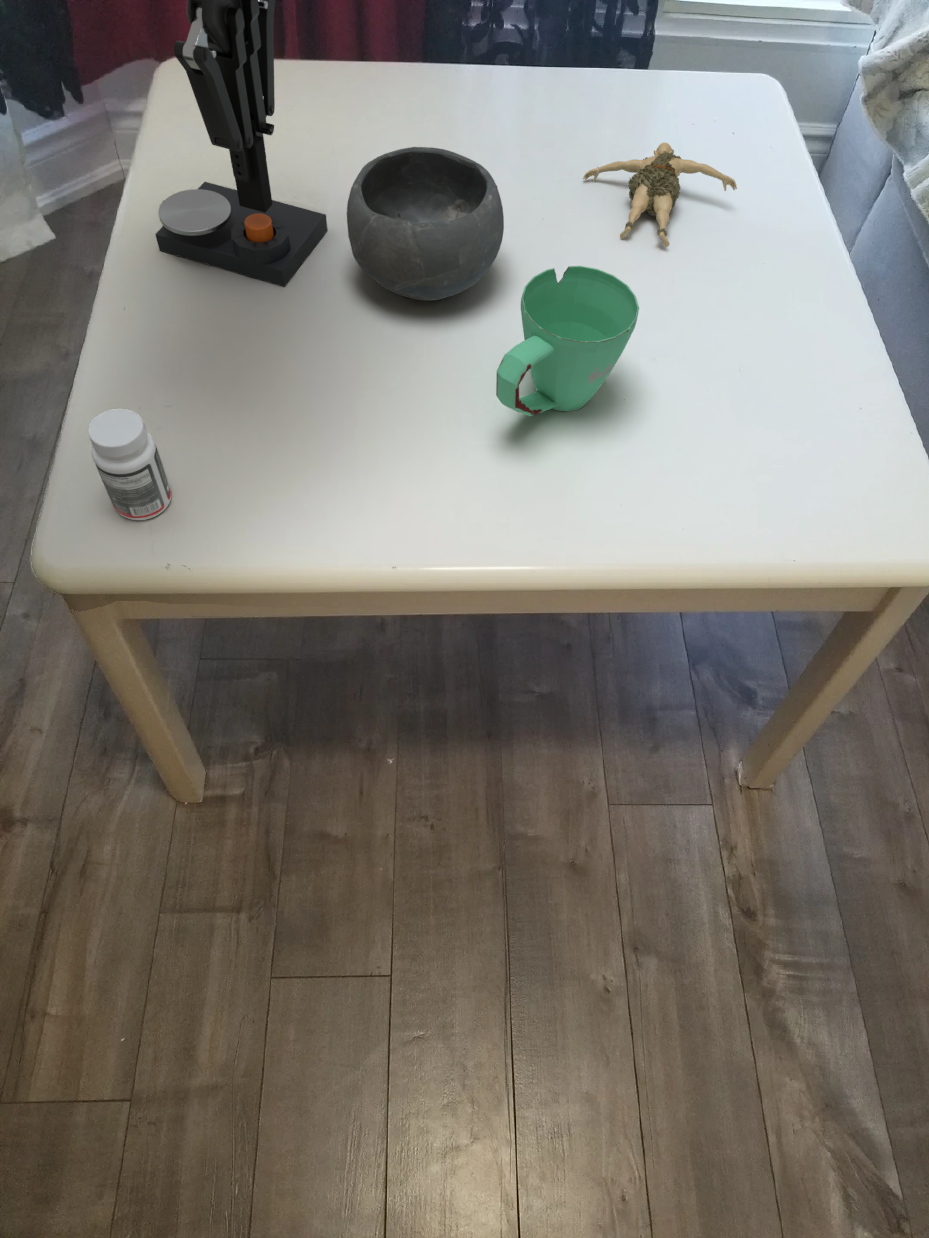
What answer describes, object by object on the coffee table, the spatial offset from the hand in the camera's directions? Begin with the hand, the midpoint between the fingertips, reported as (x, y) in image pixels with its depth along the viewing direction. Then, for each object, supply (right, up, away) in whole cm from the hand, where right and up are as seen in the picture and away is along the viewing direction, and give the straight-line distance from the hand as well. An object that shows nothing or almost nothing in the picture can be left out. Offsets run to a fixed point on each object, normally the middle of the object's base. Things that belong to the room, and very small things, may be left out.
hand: (256, 205), depth 87 cm
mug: (+27, -20, -4) cm, 34 cm away
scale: (-3, 0, +7) cm, 8 cm away
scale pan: (-7, +1, +4) cm, 8 cm away
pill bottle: (-7, -30, -12) cm, 33 cm away
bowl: (+16, -5, +6) cm, 18 cm away
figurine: (+40, +6, +14) cm, 43 cm away
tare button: (0, -2, +3) cm, 3 cm away
